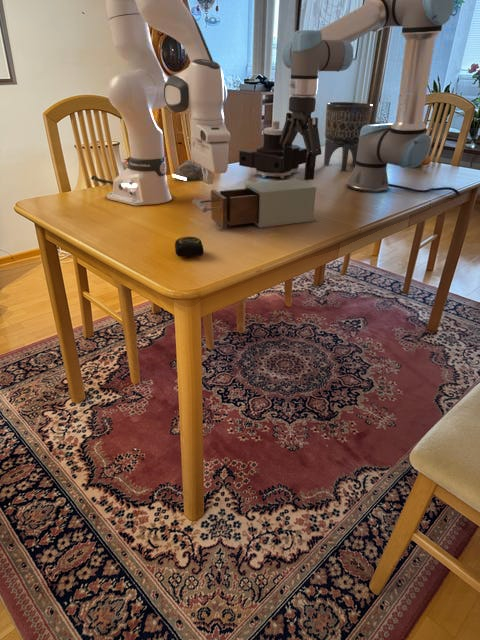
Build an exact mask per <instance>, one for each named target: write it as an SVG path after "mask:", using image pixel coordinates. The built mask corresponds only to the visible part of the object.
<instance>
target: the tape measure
mask: <svg viewBox="0 0 480 640" xmlns="http://www.w3.org/2000/svg"><path fill="white" fill-rule="evenodd" d="M174 249H175V251H174V252H175V255H176V256H178V257H185V258H191V257H201V256H203V255H204V254H205V251H204V246H203V242H202V240H201V239H200V238H199V237H196V236H182V237H179V238H177V239H176V240H175V242H174Z"/></svg>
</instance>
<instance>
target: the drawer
mask: <svg viewBox="0 0 480 640" xmlns="http://www.w3.org/2000/svg"><path fill="white" fill-rule="evenodd" d="M259 197H260V195H259V194H258V193H256V192H254V191H253V190H251V189H249V188H246V189H245V188H236V189H226V190H220V191H217V190H216V189H211V190H210V199H202V200H198V199H196V198H194V199H193V200H192V205H194V206H195V207H196V208H197V209H199V210H200V211H201V212H202V213H207V212H208V211H210V218H211V220H212V221H214V222H215V224H217V225H219V226H220V227H221V228H222V229H227V228H228V225H229V226H238V225H246V224H254V223H255V222H259ZM205 203H210V207H207V206H205V205H204V204H205Z"/></svg>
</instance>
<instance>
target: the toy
mask: <svg viewBox="0 0 480 640" xmlns="http://www.w3.org/2000/svg"><path fill="white" fill-rule="evenodd" d="M431 163H432V160H431V158H429V157H426V158H425V159H424V161H423V162H422V163H421V164H420V165H419V166H417V167H418V168H419V167H424V166H427V165H429V164H431Z"/></svg>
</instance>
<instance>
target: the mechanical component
mask: <svg viewBox="0 0 480 640" xmlns="http://www.w3.org/2000/svg"><path fill="white" fill-rule="evenodd" d="M283 128H284V127H280V121H279V120H272V126H271V127H265V128H264V129H263V145H262V146H258V147H257V148H256V151H250V150H245V149H241V150H239V153H238V154H239V155H238V157H239V159H238V166H240V167H245V168H250V169H255V173H256V174H257V175H261V177H262V178H267V177H279V178H280V179H285V176H291V175H292V173H298V171H299V167H300V165H303V164H304V165H305V164H306V155H307V154H308V153H307V150H306V147H305V148H304V147H301V146H299V145H297V144H292V146H293V147H292V162H291V170H282V166H283V147H282V144H280V138H281V135H282V131H283ZM284 140H285V139H284Z"/></svg>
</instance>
